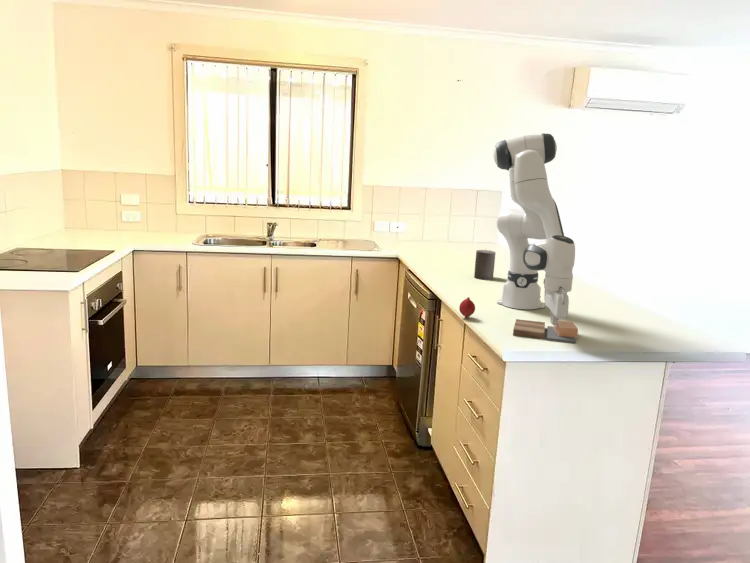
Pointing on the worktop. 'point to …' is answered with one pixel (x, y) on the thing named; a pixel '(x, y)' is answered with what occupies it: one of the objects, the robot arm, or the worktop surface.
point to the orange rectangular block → (566, 329)
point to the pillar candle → (484, 264)
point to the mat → (554, 337)
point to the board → (529, 329)
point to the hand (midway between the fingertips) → (554, 324)
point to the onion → (467, 307)
